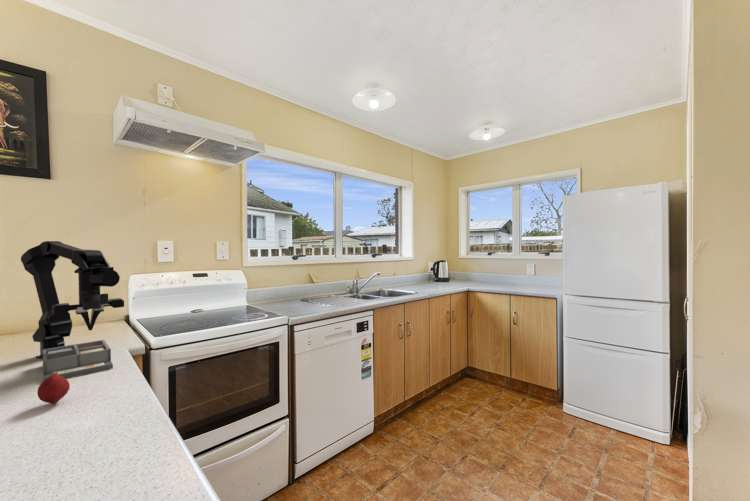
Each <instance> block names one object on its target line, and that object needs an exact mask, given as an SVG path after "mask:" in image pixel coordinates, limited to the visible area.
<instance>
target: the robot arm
mask: <svg viewBox="0 0 750 501" xmlns="http://www.w3.org/2000/svg"><path fill="white" fill-rule="evenodd" d="M60 257H61V258H64V259H68V260H70V261H71V262H70V263H71V264H72V265H75V266H76V267H77V268H76V269H75V270H74V274H78V277H77V278H78V303H77V304H70V303H69V302H64V303H60V300H59V297H58V291H57V289H56V285H55V281H54V276H53V273H52V272H53V270H54V269H55V267H56V261H57V260H58V259H59V258H60ZM20 261H21V263H22V266H23V268H24V270H25V271H26V272H28V274H30V275H31V276H32V278H33V281H34V286H35V288H36V293H37V297H38V301H39V305H40V308H41V313H42V314H41V316H40V318H39V320H38V324H37V325H38V328H37V329H36V330H35V331H34V333H33V334H32V340H33V342H34V343H35V342H36V343H39V347H40V349H39V350H40V351H39V352H40V354H38V355H36V356H35V358H36V359H43V349H49V348H55V347H62V346H66V345H65V344H66V343H65V338H67V337H71V333H72V328H73V321H72V318H71V313H70V311H75V314H76V315H80V316H81V317H82V318H83V320H84V323H85V324H86V328H87V329H88V331H93V329H94V325H95V323H96V321H97V319H98V317H99V315H100V313H103V312H104V311H105V308H106V307H112V308H113V309H118V308H123V307H125V300H123V299H122V297H121V298H120V297H117V298H109V294H108V293H101V287H109V288H110V287H115V286H116V285H118V284H119V282H120V275H119V273H118V272H117V271H116V270H114V266H110V263H109V262H108V261H107V259H106V258H105V255H104V254H103V252H102V251H101V250H96V249H81V248H78V247H76V246H72V245H69V244H65V243H63V242H61V241H58V240H57V241H56V240H55V241H54V240H47V241H46V240H45V241H42V242H41V243H40V244H39V245H35V246H34V247H32V248H31V247H30V248H29V249H27V251H25V252H24V253H23V254H22V255H21V257H20ZM89 310H91V314H90V316H89Z"/></svg>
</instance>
